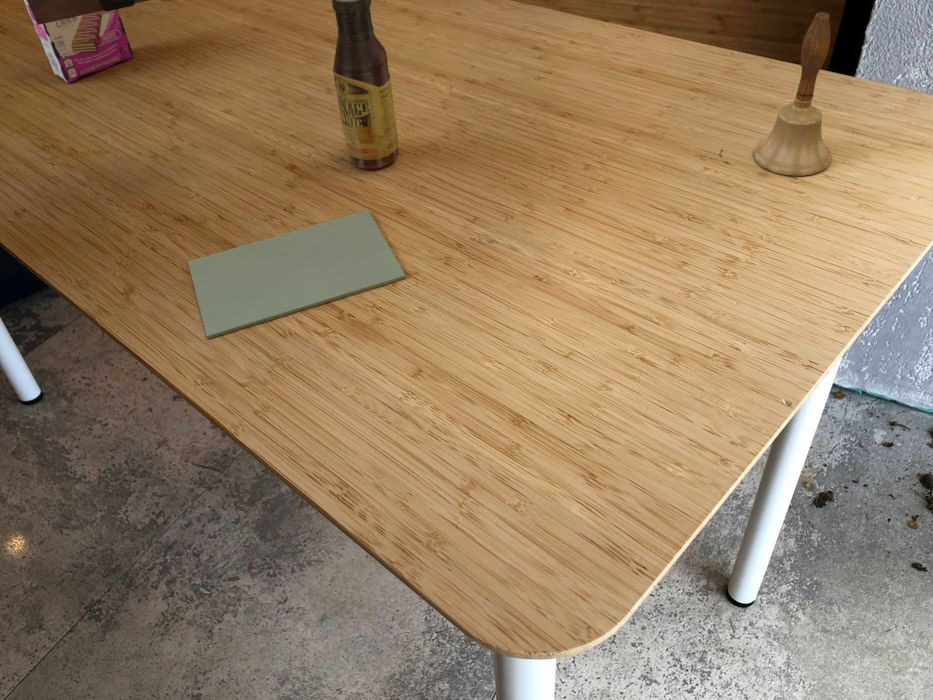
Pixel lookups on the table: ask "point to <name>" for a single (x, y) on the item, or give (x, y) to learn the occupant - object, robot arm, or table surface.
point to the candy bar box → (84, 43)
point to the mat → (292, 272)
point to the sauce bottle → (363, 88)
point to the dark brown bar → (64, 9)
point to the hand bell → (800, 115)
